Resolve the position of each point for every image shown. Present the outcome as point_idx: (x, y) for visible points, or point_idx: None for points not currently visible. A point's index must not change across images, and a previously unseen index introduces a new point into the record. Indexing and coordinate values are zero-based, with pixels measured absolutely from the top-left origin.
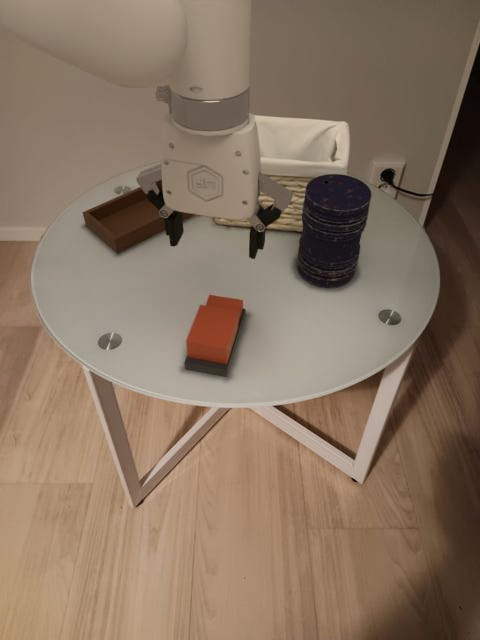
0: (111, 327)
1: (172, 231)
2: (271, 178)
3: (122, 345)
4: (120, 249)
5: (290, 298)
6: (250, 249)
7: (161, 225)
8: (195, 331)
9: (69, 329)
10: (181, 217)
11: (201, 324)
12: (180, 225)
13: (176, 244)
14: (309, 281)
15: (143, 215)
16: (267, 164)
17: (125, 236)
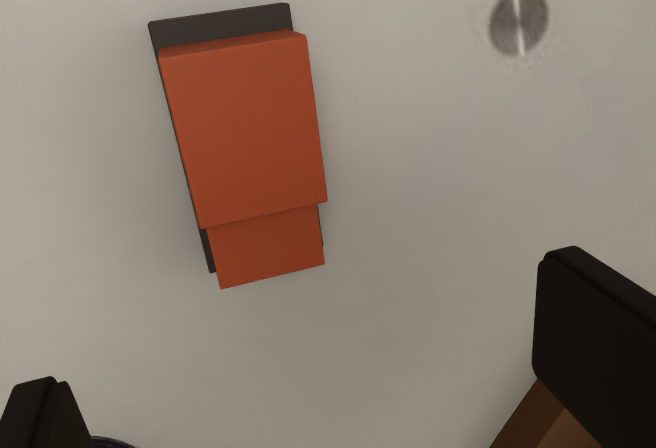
0: (531, 70)
1: (638, 309)
2: None
3: (483, 20)
4: None
5: (117, 369)
6: (37, 434)
7: (530, 416)
8: (294, 88)
9: (629, 19)
10: (609, 442)
11: (288, 125)
12: (585, 390)
13: (545, 266)
14: (93, 442)
15: (577, 422)
16: None
17: None
